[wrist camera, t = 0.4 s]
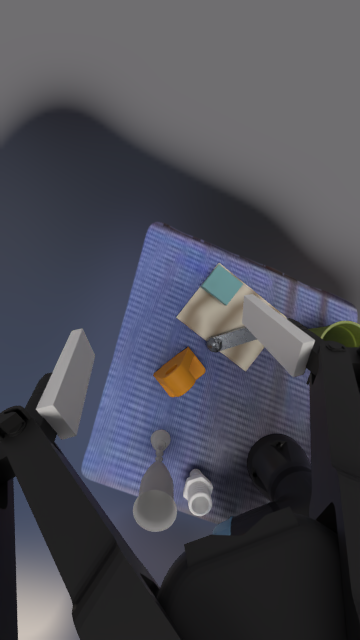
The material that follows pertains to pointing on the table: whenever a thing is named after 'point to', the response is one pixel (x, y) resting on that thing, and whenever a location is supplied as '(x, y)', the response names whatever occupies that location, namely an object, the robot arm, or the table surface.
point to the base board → (222, 321)
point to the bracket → (180, 373)
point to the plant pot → (340, 333)
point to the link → (229, 339)
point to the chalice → (156, 491)
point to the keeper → (221, 285)
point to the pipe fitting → (198, 493)
